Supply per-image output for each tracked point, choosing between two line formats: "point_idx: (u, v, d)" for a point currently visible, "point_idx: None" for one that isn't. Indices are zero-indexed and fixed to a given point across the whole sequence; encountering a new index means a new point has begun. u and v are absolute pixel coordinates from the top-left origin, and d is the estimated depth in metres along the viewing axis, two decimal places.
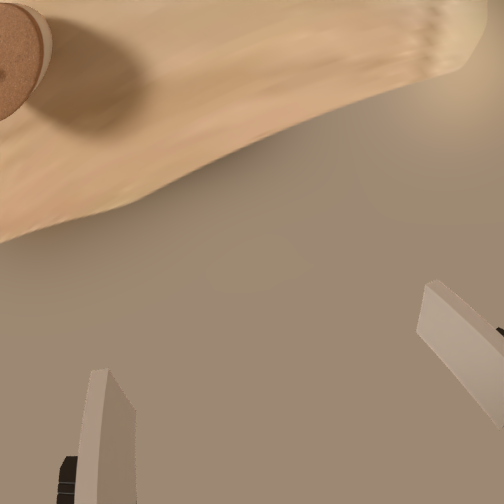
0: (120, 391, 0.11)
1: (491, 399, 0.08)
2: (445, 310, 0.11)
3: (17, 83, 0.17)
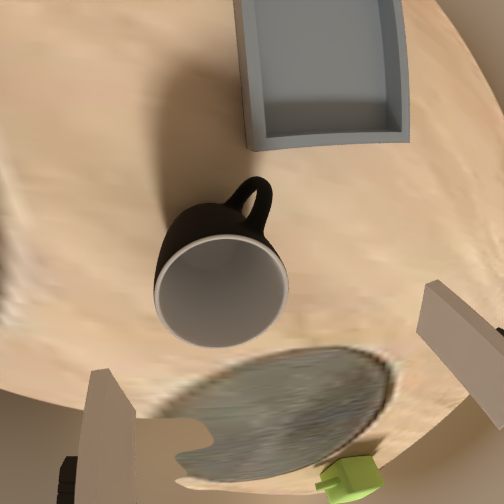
0: (120, 391, 0.11)
1: (491, 399, 0.08)
2: (445, 310, 0.11)
3: None
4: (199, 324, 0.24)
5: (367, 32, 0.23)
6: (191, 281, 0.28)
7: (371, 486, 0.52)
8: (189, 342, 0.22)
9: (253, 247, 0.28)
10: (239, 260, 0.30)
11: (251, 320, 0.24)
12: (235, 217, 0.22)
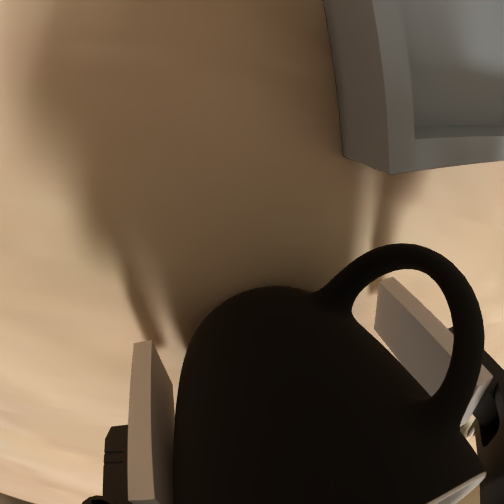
0: (161, 363, 0.12)
1: None
2: (396, 307, 0.12)
3: None
4: None
5: None
6: None
7: None
8: None
9: None
10: None
11: None
12: (381, 377, 0.07)
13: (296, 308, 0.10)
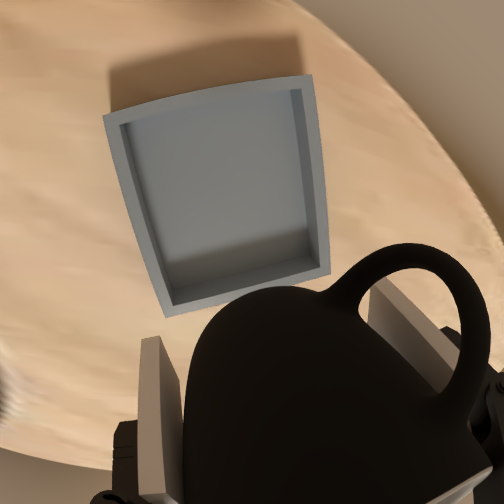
0: (168, 359, 0.12)
1: None
2: (388, 307, 0.12)
3: None
4: None
5: (279, 155, 0.25)
6: None
7: None
8: None
9: None
10: None
11: None
12: (390, 374, 0.07)
13: (304, 307, 0.10)
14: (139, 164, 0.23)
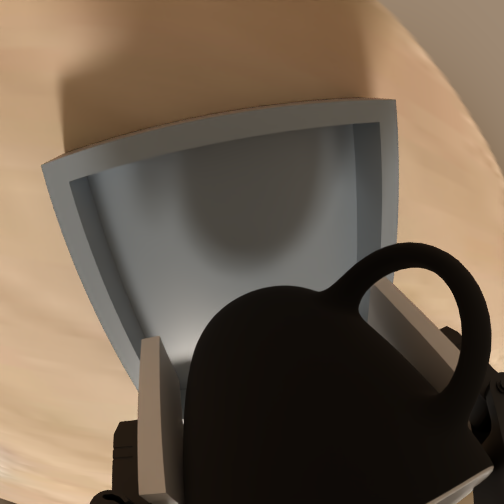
0: (168, 359, 0.12)
1: None
2: (388, 307, 0.12)
3: None
4: None
5: (329, 219, 0.17)
6: None
7: None
8: None
9: None
10: None
11: None
12: (391, 373, 0.07)
13: (305, 307, 0.10)
14: (112, 235, 0.15)
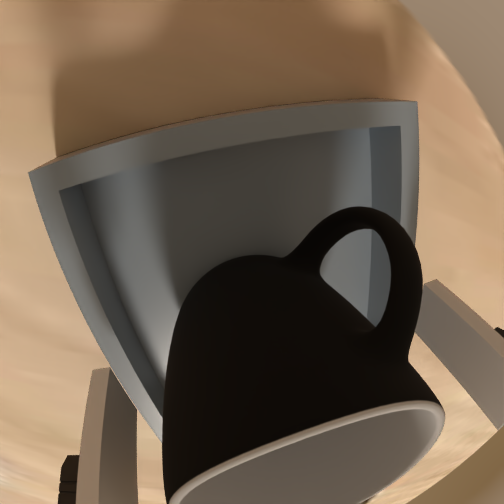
0: (121, 390, 0.11)
1: (489, 399, 0.08)
2: (443, 310, 0.11)
3: None
4: (257, 485, 0.11)
5: None
6: None
7: None
8: None
9: None
10: None
11: (348, 469, 0.11)
12: (334, 314, 0.09)
13: (268, 267, 0.12)
14: (108, 247, 0.13)
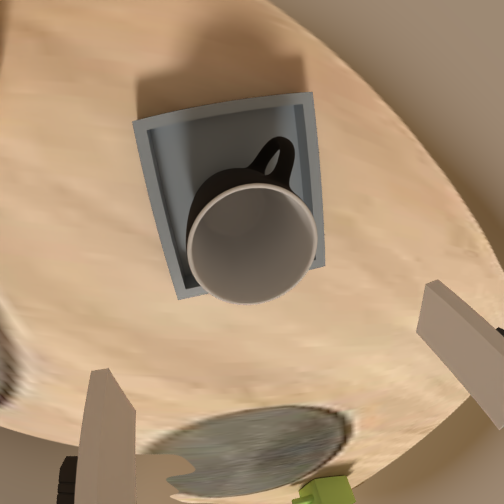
0: (120, 391, 0.11)
1: (491, 399, 0.08)
2: (445, 310, 0.11)
3: None
4: (231, 283, 0.25)
5: None
6: (219, 246, 0.29)
7: None
8: (223, 298, 0.22)
9: (278, 208, 0.28)
10: (265, 224, 0.30)
11: (282, 276, 0.25)
12: (261, 173, 0.23)
13: None
14: (161, 164, 0.27)
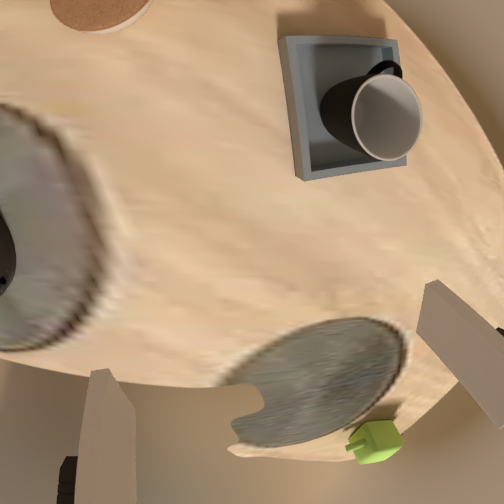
0: (120, 391, 0.11)
1: (491, 399, 0.08)
2: (445, 310, 0.11)
3: None
4: None
5: None
6: None
7: (393, 445, 0.65)
8: (369, 151, 0.28)
9: (379, 113, 0.34)
10: (367, 127, 0.36)
11: (397, 148, 0.31)
12: (380, 79, 0.29)
13: None
14: None
